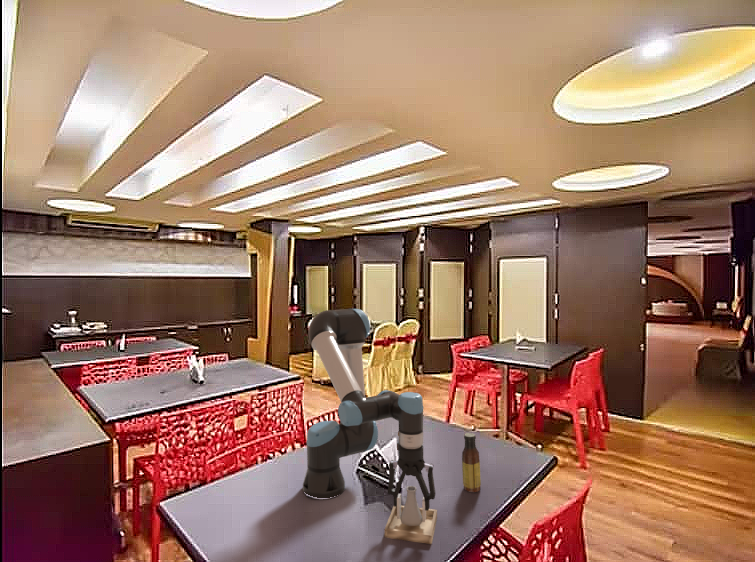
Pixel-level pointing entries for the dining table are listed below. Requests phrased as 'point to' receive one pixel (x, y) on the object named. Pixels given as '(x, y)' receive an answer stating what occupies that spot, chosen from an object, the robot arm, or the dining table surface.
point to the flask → (411, 509)
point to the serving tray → (411, 528)
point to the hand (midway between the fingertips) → (411, 518)
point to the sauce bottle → (471, 464)
